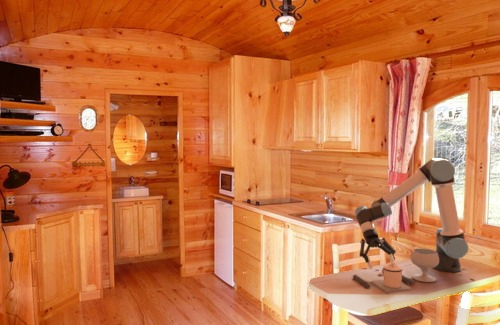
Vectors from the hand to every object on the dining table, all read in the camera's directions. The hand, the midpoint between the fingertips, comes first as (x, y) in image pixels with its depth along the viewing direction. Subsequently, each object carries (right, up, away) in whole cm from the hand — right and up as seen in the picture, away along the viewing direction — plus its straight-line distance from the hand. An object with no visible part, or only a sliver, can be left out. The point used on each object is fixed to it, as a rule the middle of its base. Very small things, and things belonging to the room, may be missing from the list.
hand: (383, 266), depth 215 cm
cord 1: (-12, -8, -1) cm, 14 cm away
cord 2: (+12, -8, +4) cm, 15 cm away
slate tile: (+2, -8, -6) cm, 10 cm away
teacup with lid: (+2, -8, -6) cm, 10 cm away
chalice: (+24, -8, +6) cm, 26 cm away
